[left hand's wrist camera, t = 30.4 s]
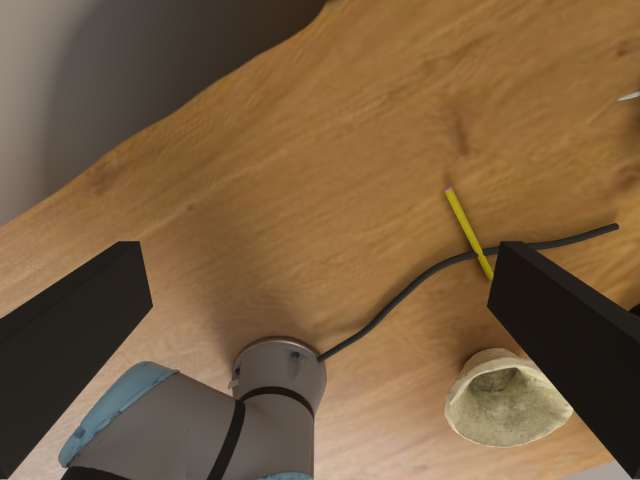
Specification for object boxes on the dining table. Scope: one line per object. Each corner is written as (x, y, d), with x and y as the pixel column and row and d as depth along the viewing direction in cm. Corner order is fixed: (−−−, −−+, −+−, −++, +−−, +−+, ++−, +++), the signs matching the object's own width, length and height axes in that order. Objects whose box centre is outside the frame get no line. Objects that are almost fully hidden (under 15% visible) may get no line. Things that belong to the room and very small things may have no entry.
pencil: (442, 189, 45) (444, 190, 44) (449, 185, 45) (452, 186, 44) (489, 282, 50) (492, 286, 49) (495, 279, 50) (498, 283, 49)
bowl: (520, 336, 59) (562, 428, 54) (420, 364, 59) (452, 458, 54) (568, 332, 45) (627, 453, 41) (438, 368, 46) (482, 492, 41)
